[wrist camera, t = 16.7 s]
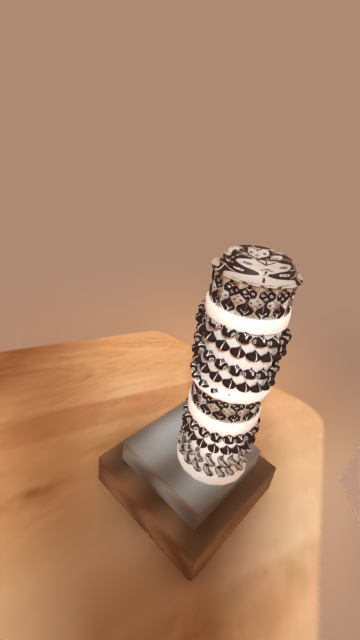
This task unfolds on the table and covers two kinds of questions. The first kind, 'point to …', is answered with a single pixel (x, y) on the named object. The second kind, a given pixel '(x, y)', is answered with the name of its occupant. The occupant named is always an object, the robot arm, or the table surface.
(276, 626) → the table surface
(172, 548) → the tower base
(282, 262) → the patterned studded column
